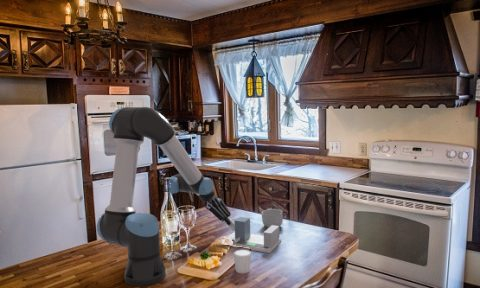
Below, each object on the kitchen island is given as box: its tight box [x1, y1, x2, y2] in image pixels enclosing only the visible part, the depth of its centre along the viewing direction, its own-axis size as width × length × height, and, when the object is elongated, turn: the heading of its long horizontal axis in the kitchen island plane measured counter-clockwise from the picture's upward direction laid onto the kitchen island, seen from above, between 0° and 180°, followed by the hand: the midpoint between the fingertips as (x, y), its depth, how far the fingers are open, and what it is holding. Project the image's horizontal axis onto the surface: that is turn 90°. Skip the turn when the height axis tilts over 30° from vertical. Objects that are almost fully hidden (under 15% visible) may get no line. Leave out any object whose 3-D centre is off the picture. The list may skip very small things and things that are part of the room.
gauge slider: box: [234, 216, 251, 243], centre depth 169 cm, size 5×10×9 cm, turn 154°
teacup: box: [261, 208, 284, 229], centre depth 192 cm, size 14×11×8 cm
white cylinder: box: [233, 248, 252, 274], centre depth 143 cm, size 7×7×7 cm
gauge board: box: [227, 225, 282, 254], centre depth 169 cm, size 24×14×8 cm, turn 64°
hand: (235, 229), depth 173 cm, fingers closed
